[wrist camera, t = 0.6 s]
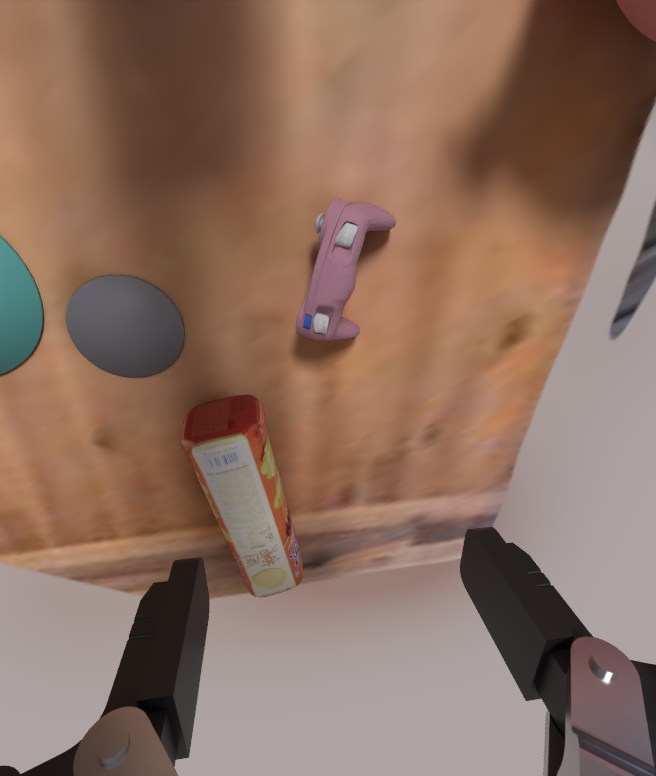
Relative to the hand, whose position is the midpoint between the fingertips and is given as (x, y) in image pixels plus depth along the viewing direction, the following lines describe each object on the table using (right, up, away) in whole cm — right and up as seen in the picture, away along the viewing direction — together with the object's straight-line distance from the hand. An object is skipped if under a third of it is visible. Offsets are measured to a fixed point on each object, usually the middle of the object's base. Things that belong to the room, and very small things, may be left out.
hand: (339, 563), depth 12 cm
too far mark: (-15, +10, +18) cm, 25 cm away
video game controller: (0, +15, +18) cm, 23 cm away
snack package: (-8, -4, +28) cm, 29 cm away
